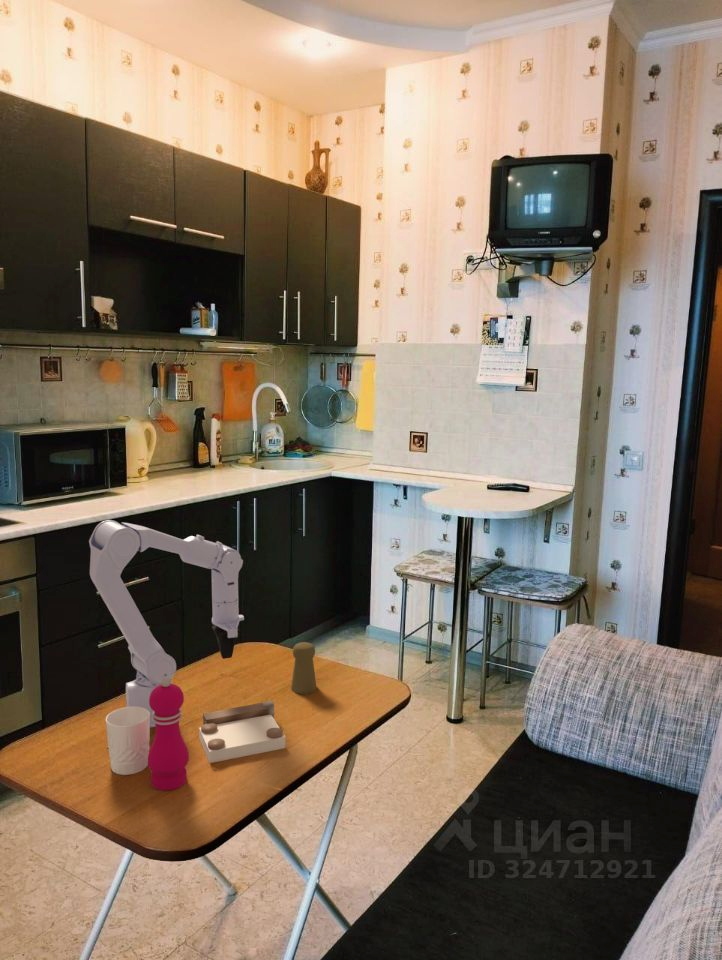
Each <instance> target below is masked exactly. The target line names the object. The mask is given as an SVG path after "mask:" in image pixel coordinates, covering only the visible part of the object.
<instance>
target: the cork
mask: <svg viewBox="0 0 722 960" xmlns="http://www.w3.org/2000/svg"><path fill="white" fill-rule="evenodd" d="M292 655H293V658H294V662H293V663H294V664H293V665H294V666H293V672H292V679H291V688H290V690H291V691H292V692H293V693H295V694H298V695H309V694H313V693H314V692H316V691H317V688H318V687H317V680H316V672H315V665H314V657H315V656H316V649H315V646H314V644H312V643H310V642H307V641H304V642H303V641H301V642H298V643H296V644H294V646H293V648H292Z"/></svg>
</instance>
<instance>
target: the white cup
mask: <svg viewBox="0 0 722 960" xmlns="http://www.w3.org/2000/svg"><path fill="white" fill-rule="evenodd" d="M105 726H106V727H105V728H106V737H107V738H106V739H107V747H108V755H109V761H110V768H111V771H112V772H113V773H114V774H117V775H121V776H128V775H135V774H137V773H140V772H142V771H144V770H145V769H147V767H148V755H149V751H150V741H151V740H150V735H151V734H150V732H151V730H150V712H149V711H148V710H147V709H145V708H142V707H126V706H125V707H121V708H117V709H115V710H113V711H110V713H108V714H107V715H106V717H105Z"/></svg>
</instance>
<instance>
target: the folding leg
mask: <svg viewBox="0 0 722 960" xmlns="http://www.w3.org/2000/svg"><path fill="white" fill-rule="evenodd" d="M265 715H272V717H273V718H274V719H275V702H274V701H272V700H267V701H263V702H260V703H253V704H248V705H242V706H237V707H230V708H225V709H220V710H216V711H210V712H204V713H202V723H203V724H202V725H204V724H207V723H214V724H221V723H227V722H232V721H238V720H243V719H249V718H254V717H260V716H265Z"/></svg>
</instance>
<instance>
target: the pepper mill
mask: <svg viewBox="0 0 722 960" xmlns="http://www.w3.org/2000/svg"><path fill="white" fill-rule="evenodd" d="M184 697H185V696H184V692H183V690H182V689H181V688H180V686H178V685H177V684H174V683H172V684H171V679H170V678H169V677H164V678H162V680H161V685H159V686H157V687H156V688H154V689H153V691H152V692H151V694H150V697H149V705H150V707H151V709H152V710H153V714H152V715H153V722H154V723H155V725H156V727H155V734H154V738H153V741H152V744H151V745H150V747H149V755H148V765H147V767H149V770H150V771H151V773H150V781H151V782H150V783H151V786H152V787H153V788H154V789H156V790H159V791H172V790H173V791H174V790H176V789H178V788H180V787H182V786H183V785H184V784H185V783H186V781H187V779H188V775H187V774H188V773H187V772H188V771H187V768H186V766H187V765H188V763H189V760H190V754H189V749H188V746H187V744H186V742H185V741H184V737H183V735H182V734H181V730H180V721H181V718H182V709H181V707H183V705H184V702H185V701H184V700H185V698H184Z"/></svg>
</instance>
